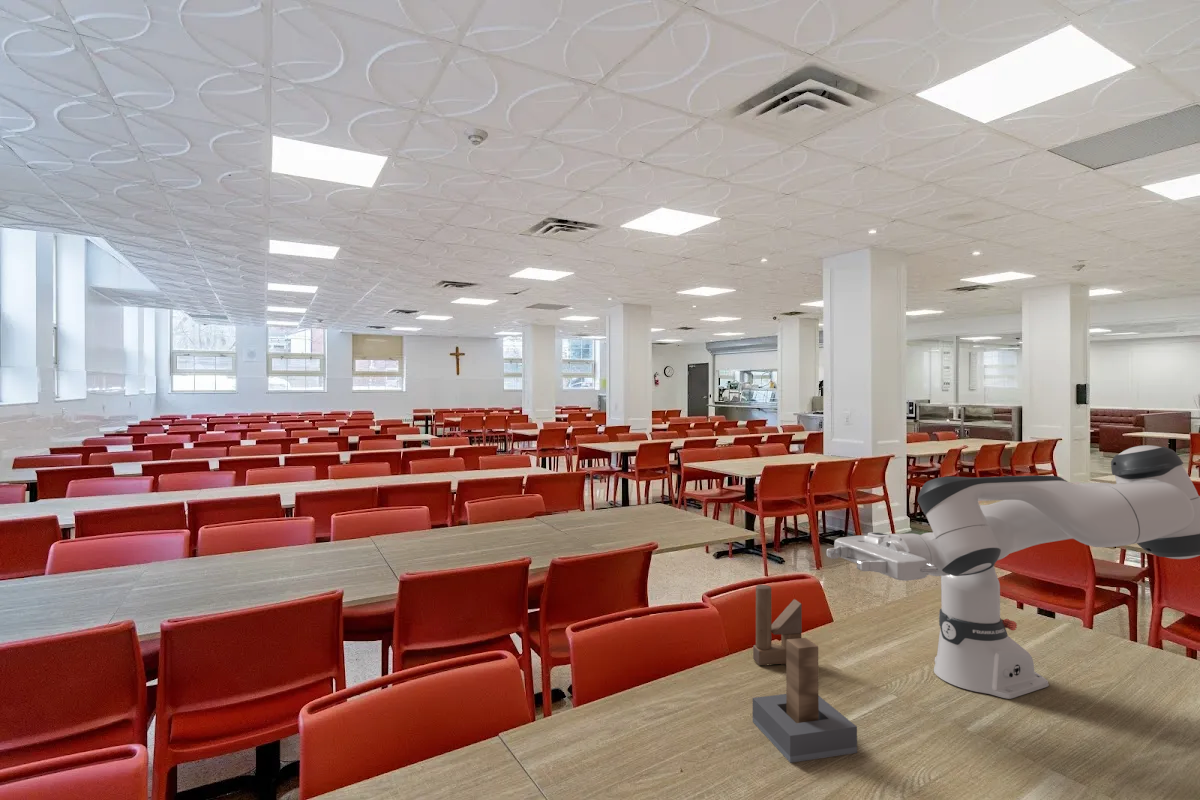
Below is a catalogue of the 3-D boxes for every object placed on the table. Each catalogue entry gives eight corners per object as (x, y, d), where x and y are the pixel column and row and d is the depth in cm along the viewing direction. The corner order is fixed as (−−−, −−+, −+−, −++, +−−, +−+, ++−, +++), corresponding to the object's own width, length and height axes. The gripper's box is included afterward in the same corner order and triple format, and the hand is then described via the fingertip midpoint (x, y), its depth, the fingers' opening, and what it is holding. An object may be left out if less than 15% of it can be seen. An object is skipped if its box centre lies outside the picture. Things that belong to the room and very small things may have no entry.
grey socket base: (812, 713, 111) (812, 690, 111) (857, 752, 98) (856, 726, 98) (752, 721, 108) (752, 697, 108) (790, 762, 95) (790, 735, 95)
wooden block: (802, 663, 133) (802, 587, 133) (759, 666, 131) (759, 589, 132) (794, 657, 137) (794, 582, 137) (752, 660, 135) (752, 584, 135)
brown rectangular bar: (805, 723, 105) (805, 637, 106) (818, 735, 101) (818, 646, 102) (786, 726, 104) (786, 639, 105) (798, 738, 101) (798, 648, 101)
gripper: (943, 586, 105) (880, 591, 102) (868, 558, 125) (813, 562, 122) (943, 552, 106) (880, 556, 102) (868, 530, 125) (813, 533, 122)
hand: (843, 559), depth 112 cm, fingers open, 8 cm apart
